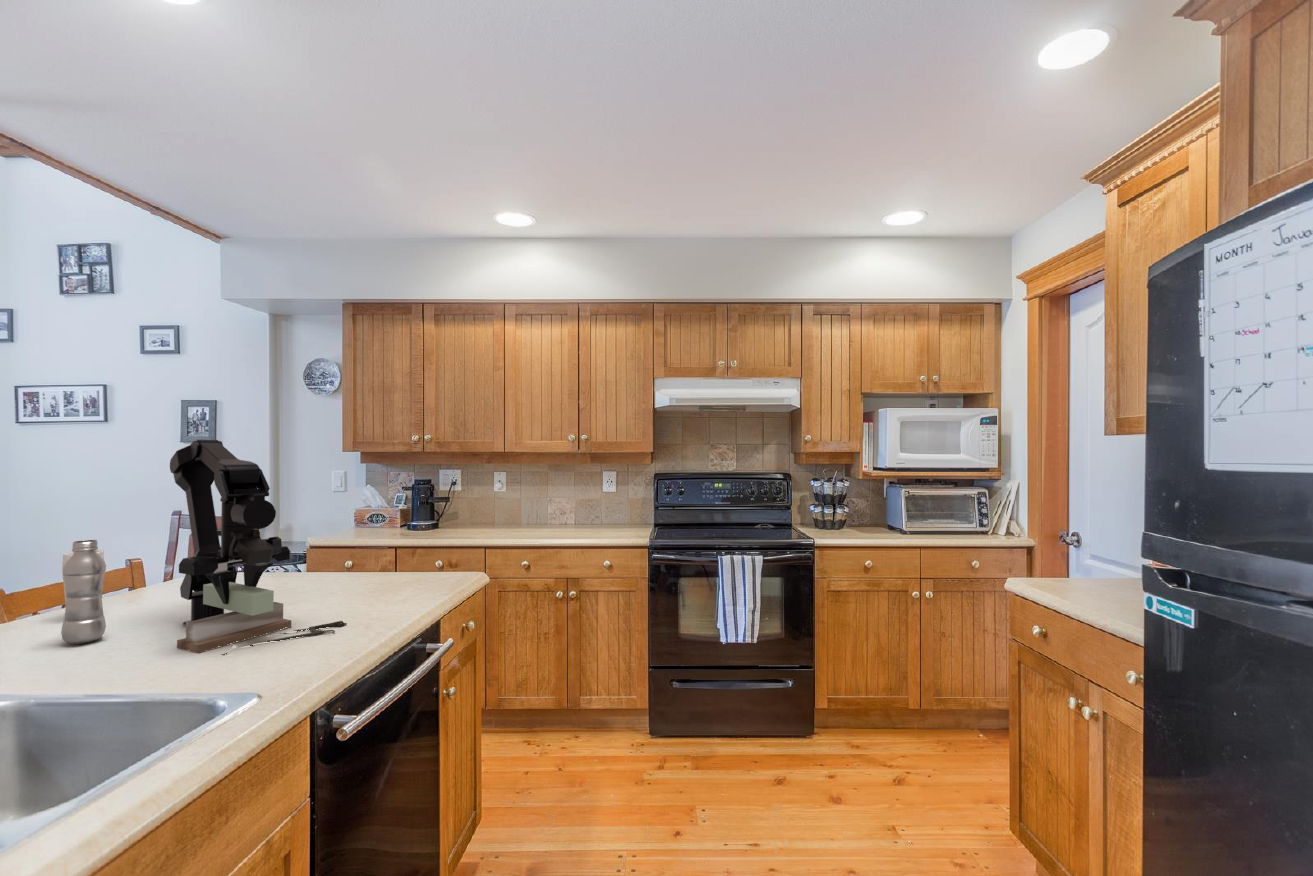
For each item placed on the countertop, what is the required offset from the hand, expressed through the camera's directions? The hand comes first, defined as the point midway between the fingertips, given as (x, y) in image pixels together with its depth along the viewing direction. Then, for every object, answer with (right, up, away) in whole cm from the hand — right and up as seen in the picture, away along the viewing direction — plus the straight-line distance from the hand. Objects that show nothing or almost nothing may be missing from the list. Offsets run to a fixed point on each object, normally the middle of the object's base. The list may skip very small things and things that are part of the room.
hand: (237, 601), depth 123 cm
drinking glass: (-44, -8, +13) cm, 46 cm away
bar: (0, -1, 0) cm, 1 cm away
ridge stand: (0, -7, 0) cm, 7 cm away
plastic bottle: (-28, -7, -4) cm, 29 cm away
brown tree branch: (+10, -8, -2) cm, 13 cm away
